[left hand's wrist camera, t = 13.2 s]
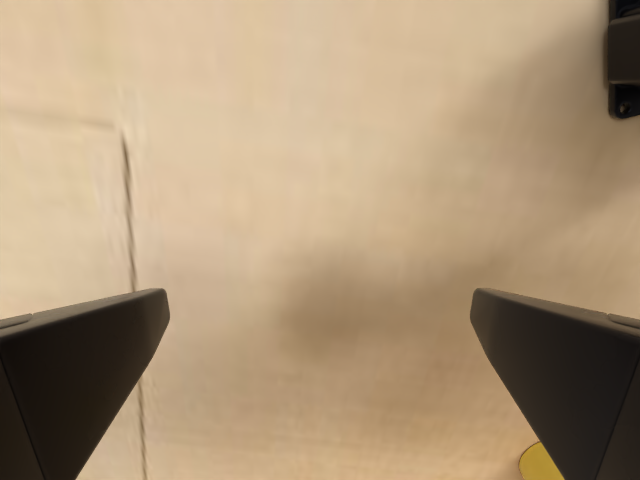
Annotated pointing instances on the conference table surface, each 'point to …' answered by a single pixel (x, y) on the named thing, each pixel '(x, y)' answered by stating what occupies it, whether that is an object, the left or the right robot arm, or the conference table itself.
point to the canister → (538, 465)
